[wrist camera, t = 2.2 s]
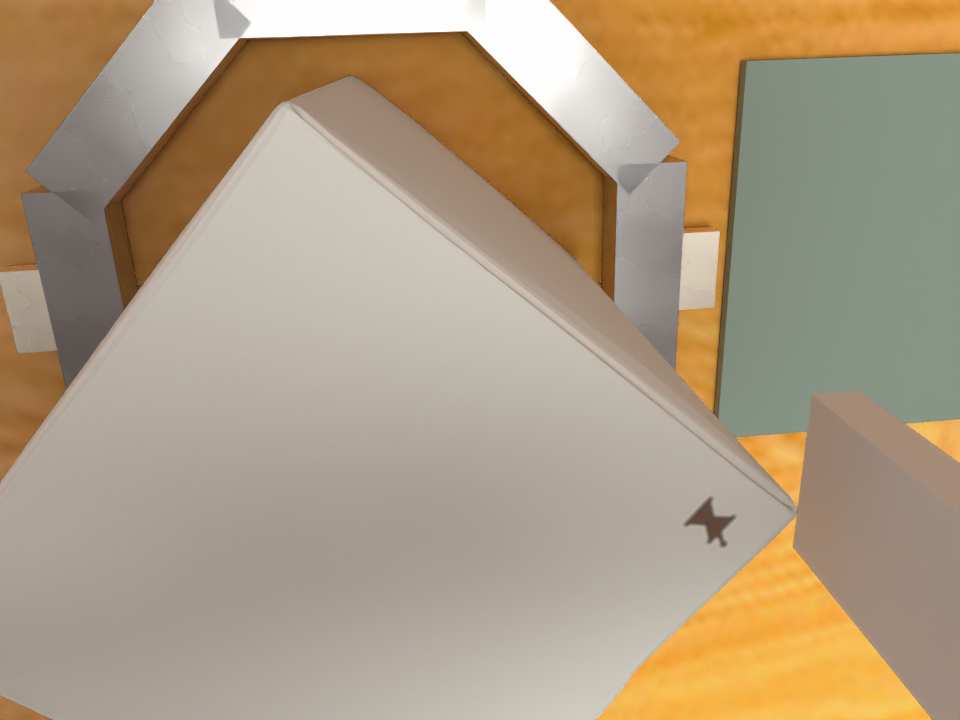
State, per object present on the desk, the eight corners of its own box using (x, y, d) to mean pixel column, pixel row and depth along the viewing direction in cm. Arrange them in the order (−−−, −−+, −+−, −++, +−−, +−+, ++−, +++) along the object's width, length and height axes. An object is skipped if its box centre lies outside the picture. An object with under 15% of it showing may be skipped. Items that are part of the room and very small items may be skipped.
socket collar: (83, 565, 27) (66, 593, 25) (-65, -36, 20) (-98, -43, 19) (690, 511, 28) (705, 533, 27) (728, -54, 22) (751, -62, 21)
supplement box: (349, 60, 22) (287, 60, 8) (581, 260, 25) (833, 514, 11) (163, 307, 24) (-146, 650, 10) (399, 468, 27) (415, 913, 13)
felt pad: (712, 433, 27) (716, 438, 27) (741, 60, 23) (747, 61, 23) (1037, 407, 29) (1045, 412, 28) (1121, 46, 24) (1132, 46, 24)
